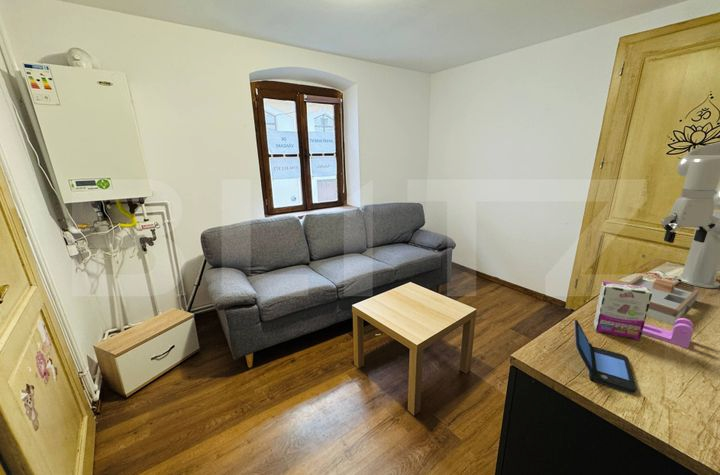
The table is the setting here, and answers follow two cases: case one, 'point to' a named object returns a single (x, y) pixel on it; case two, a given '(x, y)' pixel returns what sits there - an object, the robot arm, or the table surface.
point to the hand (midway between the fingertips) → (683, 241)
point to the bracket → (672, 332)
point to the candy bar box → (622, 309)
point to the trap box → (667, 301)
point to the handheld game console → (605, 364)
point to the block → (664, 285)
